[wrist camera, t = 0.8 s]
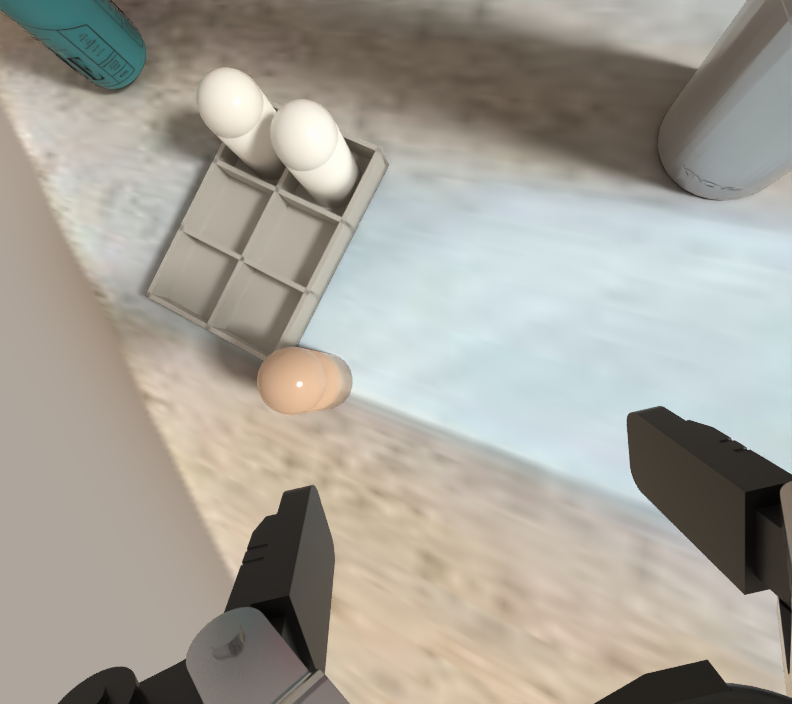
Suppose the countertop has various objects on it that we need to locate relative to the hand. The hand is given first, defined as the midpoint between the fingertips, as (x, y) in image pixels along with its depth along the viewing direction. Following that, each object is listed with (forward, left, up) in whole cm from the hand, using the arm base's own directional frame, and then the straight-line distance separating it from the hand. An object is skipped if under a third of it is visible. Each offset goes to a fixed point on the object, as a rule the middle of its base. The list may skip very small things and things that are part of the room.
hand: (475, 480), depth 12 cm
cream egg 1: (-12, -25, -24) cm, 37 cm away
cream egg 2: (-12, -19, -24) cm, 33 cm away
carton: (-6, -22, -25) cm, 34 cm away
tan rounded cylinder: (+3, -12, -25) cm, 28 cm away
